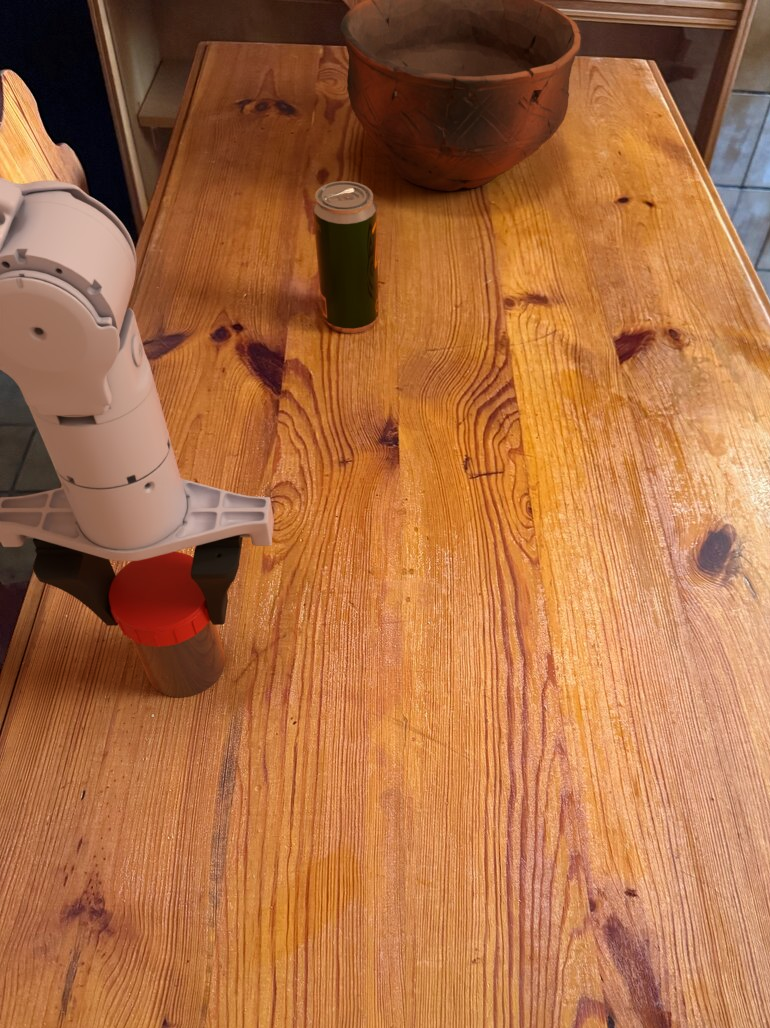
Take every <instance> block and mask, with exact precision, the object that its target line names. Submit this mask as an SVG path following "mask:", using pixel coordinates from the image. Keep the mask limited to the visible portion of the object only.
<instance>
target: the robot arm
mask: <svg viewBox="0 0 770 1028" xmlns="http://www.w3.org/2000/svg"><path fill="white" fill-rule="evenodd" d="M136 269H137V253H136V247H135V244H134V242H133V239H132V237H131V234H130V233H129V231H128V230H127V228H126V226H125V224H124V223H123V222H122V221H121V220H120V219H119V217H118V216H117V215H116V214H115V213H114V212H113V211H112V210H111V209H109V208H108V207H107V206H106V205H105V204H104V203H102V202H101V201H99V200H97V199H95V198H94V197H92V196H90V195H89V194H87V193H86V192H85V191H84V190H82V188H80V187H79V186H78V185H76V184H73V183H69V182H65V181H60V180H37V181H31V182H28V183H27V182H26V183H17V182H13V181H10V180H8V179H6V178H4V177H2V176H0V371H1V372H3V373H4V374H6V375H7V376H9V377H10V378H11V379H12V380H13V381H14V382H15V384H16V385H17V386H18V388H19V390H20V392H21V394H22V396H23V399H24V401H25V403H26V405H27V406H28V408H29V411H30V413H31V416H32V418H33V421H34V422H35V425H36V427H37V430H38V432H39V435H40V436H41V439H42V442H43V443H44V446H45V449H46V451H47V453H48V456H49V458H50V460H51V462H52V465H53V468H54V470H55V473H56V475H57V477H58V479H59V482H60V485H61V487H58V488H54V489H50V490H46V491H41V492H37V493H33V494H27V495H19V496H1V497H0V544H1V545H2V547H3V548H19V547H22V546H24V544H25V543H26V539H32V542H33V545H34V546H35V549H34V551H35V553H36V555H35V559H34V561H33V564H32V565H33V566H32V569H33V570H32V571H33V573H34V575H35V576H36V578H37V580H38V581H39V582H40V583H43V584H46V585H50V586H52V587H55V588H57V589H59V590H61V591H63V592H65V593H67V594H68V595H70V596H72V597H73V598H75V599H77V600H78V601H79V602H80V603H82V604H83V605H84V606H85V607H87V608H88V609H89V610H90V611H92V612H93V614H95V616H97V618H99V619H100V620H101V621H102V622H103V623H104V624H105V625H106V626H107V627H110V626H112V627H113V626H114V627H117V626H118V627H119V625H118V623H116V622H115V619H114V617H113V615H112V612H111V610H110V609H111V606H110V603H109V590H110V586H111V583H112V581H113V579H114V578H115V576H116V575H117V574H116V572H115V570H114V568H113V565H112V563H111V561H115V562H132V561H139V560H143V559H148V558H152V557H156V556H159V555H163V554H167V553H171V552H179V551H182V550H186V549H189V548H193V547H194V551H193V552H194V553H193V556H192V557H193V563H192V568H191V578H192V579H193V580H194V581H195V582H196V583H197V585H198V586H199V588H200V589H201V591H202V593H203V595H204V597H205V600H206V604H207V609H208V613H209V618H210V620H211V622H212V624H213V625H217V626H219V625H220V626H223V625H225V623H226V618H227V611H228V604H229V597H228V596H229V595H228V592H229V589H230V587H231V585H232V583H233V582H234V581H235V579H236V577H237V574H238V571H239V567H240V561H241V553H242V547H243V540H244V538H250V540H251V544H252V545H253V546H256V547H271V546H272V543H273V535H274V525H275V518H274V517H275V516H274V513H273V511H274V510H273V506H272V500H271V497H270V496H255V495H246V494H243V493H237V492H233V491H229V490H225V489H222V488H218V487H213V486H210V485H206V484H204V483H199V482H195V481H193V480H192V481H191V480H188V479H184V478H182V477H181V473H180V469H179V466H178V462H177V459H176V456H175V452H174V448H173V445H172V441H171V437H170V433H169V429H168V425H167V422H166V418H165V415H164V411H163V407H162V404H161V400H160V396H159V393H158V389H157V386H156V383H155V379H154V378H155V377H154V375H153V371H152V367H151V364H150V361H149V359H148V356H147V354H146V352H145V348H144V344H143V340H142V337H141V334H140V329H139V326H138V323H137V319H136V315H135V312H134V310H133V309H132V308H130V307H128V306H129V302H130V299H131V296H132V292H133V289H134V284H135V281H136V274H137V273H136V271H137V270H136ZM110 560H111V561H110Z"/></svg>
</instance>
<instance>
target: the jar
mask: <svg viewBox="0 0 770 1028" xmlns="http://www.w3.org/2000/svg"><path fill="white" fill-rule="evenodd" d="M131 642H132V645H133V647H134V649H135V652H136V654H137V656H138V659H139V661H140V663H141V666H142V668H143V671H144V673H145V675H146V677H147V679H148V682H149V684H150V685H151V687H152V688H154V689H155V691H157V692H158V693H160V694H163V695H165V696H168V697H172V698H173V697H174V698H189V697H194V696H196V695H200V694H201V693H203V692H205V691H207V690H209V689H210V688H211V687H212V686H214V685H215V684H216V682H217V681H219V679H220V677H221V676H222V674H223V673H224V670H225V666H226V654H225V651H224V646H223V643H222V639H221V636H220V633H219V628H218V625H213V624H212V622H211V620H210V621H209V622H208V623H207V625H206V626H205V627H204V628H203V629H202V630H201V631H200V632H199V633H198V634H196V635H194V636H193V637H191V638H189V639H188V640H185V641H183V642H180V643H179V644H174V645H170V646H160V647H158V646H157V647H156V646H147V645H143V644H139V643H137V642H135V641H133V640H131Z"/></svg>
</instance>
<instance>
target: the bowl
mask: <svg viewBox="0 0 770 1028" xmlns="http://www.w3.org/2000/svg"><path fill="white" fill-rule="evenodd" d="M339 27H340V34H341V36H342V38H343V40H344V42H345V46H346V50H347V54H348V69H347V80H346V84H347V88H346V90H347V94H348V99H349V102H350V106H351V109H352V111H353V113H354V114H355V117H356V118H357V120H358V122H359V123H360V125H361V127H362V128H363V130H364V131H365V133H366V134H367V135H368V137H369V138H370V139H371V141H372V142H373V143H374V145H376V147H377V148H378V149H379V150H380V152H382V153H383V155H384V156H385V157H386V158H387V159H388V160H389V161H390V163H391V164H392V166H393V168H395V170H396V171H397V173H398V174H399V176H400V177H401V178H402V179H403V180H405V181H407V182H409V183H411V184H413V185H416V186H418V187H422V188H426V189H431V190H435V191H444V192H451V191H457V190H459V189H462V188H464V189H477V188H479V187H483V186H484V185H486V184H489V183H490V182H491V181H493V180H494V179H496V178H497V177H499V176H500V175H502V174H504V173H506V172H507V171H510V170H511V169H512V168H514V167H515V166H517V165H519V164H521V162H523V161H525V160H526V159H527V158H529V157H530V156H532V155H533V154H534V153H535V152H537V151H538V150H539V148H540V147H541V146H543V145H544V144H545V143H546V142H547V141H549V140H550V139H551V138H552V137H553V135H555V133H556V132H558V131H557V130H558V129H559V127H561V126H562V124H563V122H564V121H565V118H566V115H567V112H568V107H569V98H570V93H569V88H570V79H571V73H572V68H573V65H574V62H575V58H576V56H577V54H578V53H579V52H580V50H581V45H582V34H581V31H580V28H579V26H578V24H577V23H576V22H575V21H574V20H573V19H572V18H570V17H569V16H568V15H566V14H565V13H563V12H562V11H560V10H559V9H558V8H557V7H555V6H554V5H552V4H549V3H547V2H544V1H541V0H363V1H361V2H359V3H357V4H355V5H354V6H353V7H351V8H350V9H349V10H348V11H347V12H346V13H345V15H344V16H343V18H342V19H341V22H340V25H339Z"/></svg>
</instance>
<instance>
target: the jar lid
mask: <svg viewBox="0 0 770 1028" xmlns="http://www.w3.org/2000/svg"><path fill="white" fill-rule="evenodd" d="M193 557H194V556H192V555H190V554H187V553H184V552H179V551H175V552H171V553H167V554H163V555H159V556H156V557H152V558H148V559H143V560H139V561H129V562H128V563H127V564H125V566H123V567H122V568H121V569H119V571H118V572H117V574H115V575H116V576H115V578H114V579H113V581H112V583H111V586H110V590H109V603H110V606H111V609H110V610H111V612H112V615H113V617H114V619H115V622H116V623H118V627H119V629H120V631H121V632H122V635H123V636H124V637H125V636H126V637H127V638H129V640H131V641H132V640H133V641H135V642H137V643H139V644H143V645H147V646H156V647H157V646H158V647H160V646H170V645H174V644H179V643H180V642H183V641H185V640H188V639H189V638H191V637H193V636H194V635H196V634H198V633H199V632H200V631H201V630H202V629H203V628H204V627H205V626H206V625H207V623H208V622H209V621H210V618H209V613H208V609H207V604H206V600H205V597H204V595H203V593H202V591H201V589H200V588H199V586H198V585H197V583H196V582H195V581H194V580H193V579H192V578H191V568H192V563H193Z"/></svg>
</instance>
